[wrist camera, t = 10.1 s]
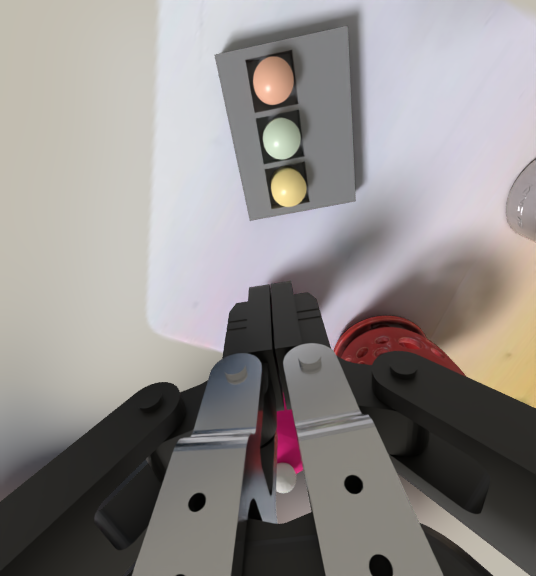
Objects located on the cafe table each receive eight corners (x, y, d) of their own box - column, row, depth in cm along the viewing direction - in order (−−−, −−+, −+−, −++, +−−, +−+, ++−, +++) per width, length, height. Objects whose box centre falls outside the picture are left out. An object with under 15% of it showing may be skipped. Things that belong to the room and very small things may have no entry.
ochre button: (300, 162, 30) (304, 168, 27) (304, 195, 31) (308, 203, 28) (267, 169, 30) (268, 174, 27) (273, 201, 31) (274, 209, 29)
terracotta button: (287, 58, 26) (290, 52, 23) (292, 100, 27) (296, 100, 24) (250, 66, 26) (249, 61, 23) (257, 108, 27) (257, 108, 25)
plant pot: (447, 320, 39) (516, 397, 29) (389, 392, 45) (429, 478, 35) (354, 287, 37) (393, 358, 26) (305, 368, 42) (321, 453, 32)
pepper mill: (231, 328, 39) (211, 507, 21) (256, 280, 36) (256, 444, 18) (284, 347, 41) (306, 528, 23) (312, 303, 37) (361, 473, 20)
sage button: (294, 114, 28) (297, 114, 25) (298, 151, 29) (302, 155, 26) (259, 121, 28) (259, 122, 25) (266, 157, 29) (266, 162, 27)
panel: (341, 31, 25) (347, 25, 23) (350, 196, 32) (355, 201, 30) (217, 58, 26) (214, 54, 24) (250, 214, 32) (249, 220, 30)
